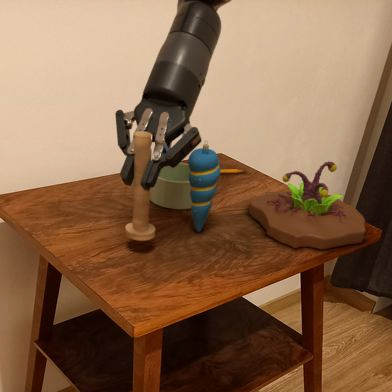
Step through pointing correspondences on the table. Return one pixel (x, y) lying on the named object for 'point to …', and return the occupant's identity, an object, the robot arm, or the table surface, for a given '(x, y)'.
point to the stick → (141, 190)
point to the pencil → (230, 171)
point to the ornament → (202, 182)
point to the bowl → (172, 187)
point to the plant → (308, 215)
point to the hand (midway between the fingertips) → (135, 185)
